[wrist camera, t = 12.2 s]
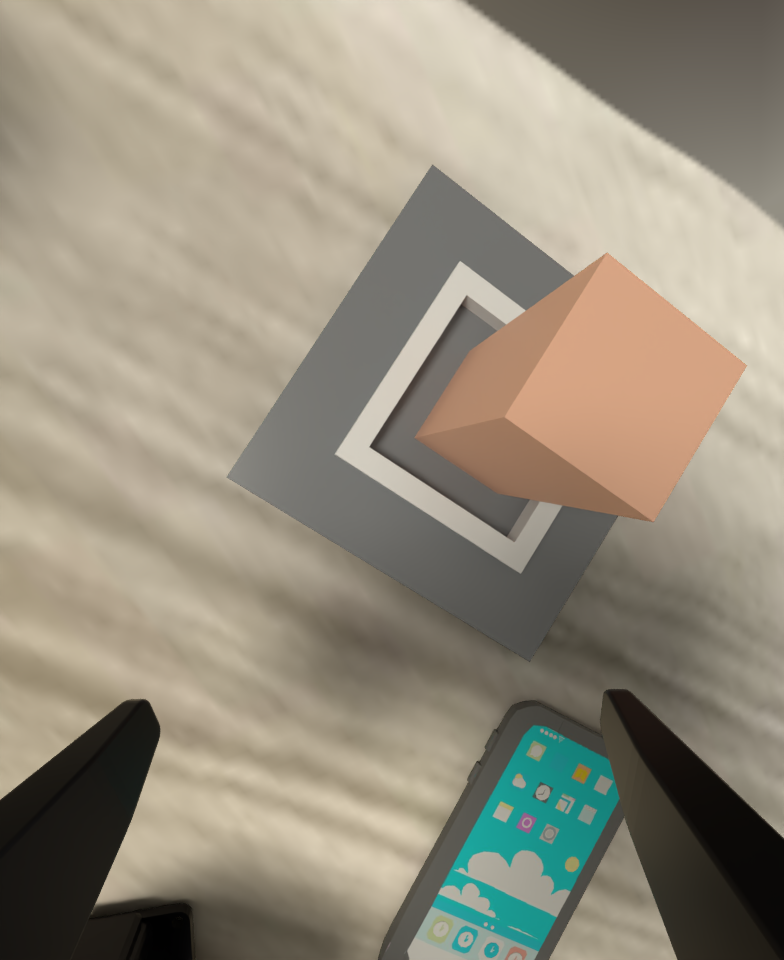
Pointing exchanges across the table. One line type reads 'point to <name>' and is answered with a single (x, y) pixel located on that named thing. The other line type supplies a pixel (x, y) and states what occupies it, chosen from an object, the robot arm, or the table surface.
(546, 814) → the smartphone
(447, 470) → the dock board
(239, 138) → the table surface
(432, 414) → the terracotta block
